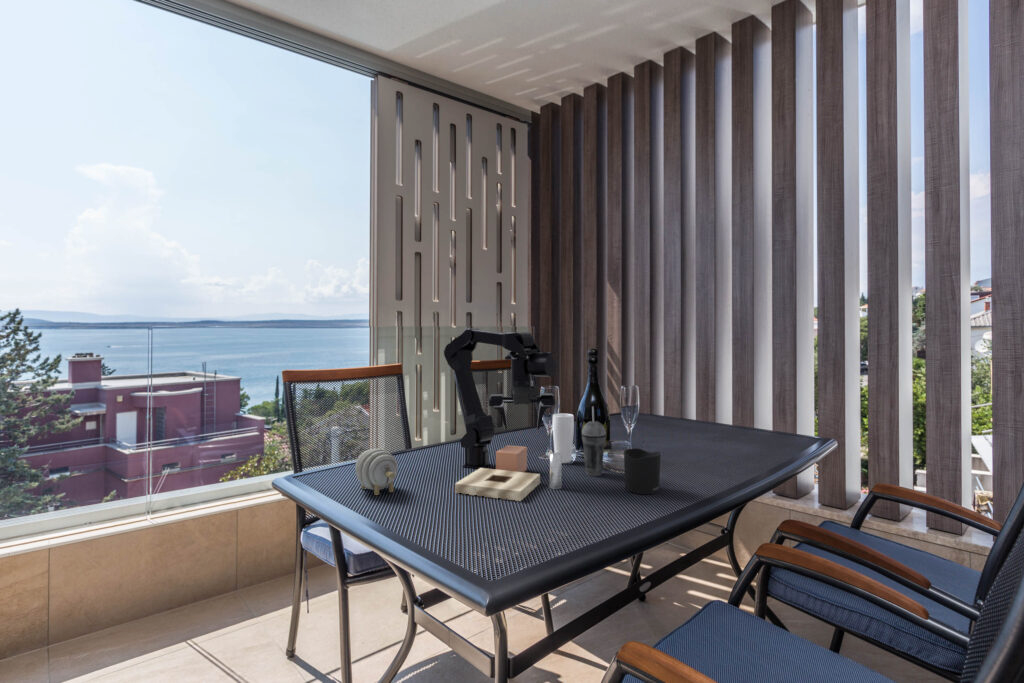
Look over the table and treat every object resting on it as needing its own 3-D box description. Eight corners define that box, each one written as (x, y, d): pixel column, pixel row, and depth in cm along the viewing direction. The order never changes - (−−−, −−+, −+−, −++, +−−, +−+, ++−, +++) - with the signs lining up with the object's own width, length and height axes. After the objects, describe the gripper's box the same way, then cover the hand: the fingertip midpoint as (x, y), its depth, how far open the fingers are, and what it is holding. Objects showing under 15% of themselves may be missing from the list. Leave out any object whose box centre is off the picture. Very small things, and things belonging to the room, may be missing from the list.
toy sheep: (377, 480, 147) (377, 441, 147) (413, 493, 136) (413, 451, 135) (343, 488, 140) (342, 447, 139) (377, 503, 128) (377, 458, 128)
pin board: (455, 493, 136) (455, 483, 136) (480, 476, 151) (480, 467, 151) (520, 501, 130) (520, 491, 130) (540, 483, 145) (540, 474, 145)
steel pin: (548, 488, 140) (548, 454, 140) (551, 484, 143) (551, 452, 143) (559, 489, 139) (559, 455, 139) (562, 486, 142) (562, 453, 142)
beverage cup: (609, 472, 155) (609, 405, 155) (602, 478, 149) (602, 408, 148) (585, 469, 158) (585, 403, 158) (577, 475, 152) (578, 406, 151)
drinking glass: (573, 459, 170) (573, 413, 170) (573, 464, 163) (574, 417, 163) (552, 458, 171) (552, 413, 170) (552, 464, 164) (552, 416, 164)
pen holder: (631, 496, 133) (631, 457, 133) (618, 485, 143) (618, 448, 142) (666, 494, 135) (666, 456, 135) (651, 483, 144) (651, 447, 144)
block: (495, 475, 152) (495, 451, 152) (506, 467, 160) (506, 445, 160) (517, 478, 150) (517, 453, 150) (526, 469, 158) (527, 446, 158)
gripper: (487, 378, 143) (488, 435, 143) (555, 377, 143) (556, 434, 143) (489, 375, 154) (490, 428, 154) (553, 374, 154) (553, 427, 154)
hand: (522, 429), depth 151 cm, fingers open, 9 cm apart
